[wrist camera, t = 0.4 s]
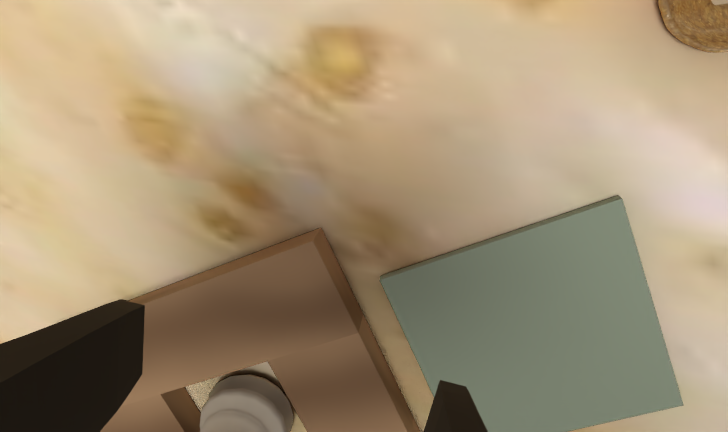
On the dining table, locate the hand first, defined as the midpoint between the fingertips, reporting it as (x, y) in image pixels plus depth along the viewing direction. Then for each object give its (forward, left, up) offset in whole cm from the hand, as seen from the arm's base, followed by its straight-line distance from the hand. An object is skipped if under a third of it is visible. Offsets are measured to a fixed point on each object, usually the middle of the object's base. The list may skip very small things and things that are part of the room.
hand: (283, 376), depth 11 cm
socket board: (-7, +9, -10) cm, 15 cm away
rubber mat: (-7, -5, -10) cm, 13 cm away
